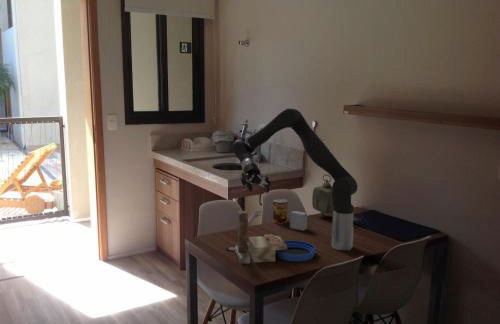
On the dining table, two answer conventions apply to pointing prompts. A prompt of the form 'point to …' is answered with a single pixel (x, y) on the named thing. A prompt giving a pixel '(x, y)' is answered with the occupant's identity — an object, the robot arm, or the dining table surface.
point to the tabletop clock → (323, 198)
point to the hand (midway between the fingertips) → (259, 190)
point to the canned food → (280, 211)
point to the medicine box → (298, 220)
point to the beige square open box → (264, 249)
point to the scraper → (242, 238)
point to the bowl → (296, 251)
